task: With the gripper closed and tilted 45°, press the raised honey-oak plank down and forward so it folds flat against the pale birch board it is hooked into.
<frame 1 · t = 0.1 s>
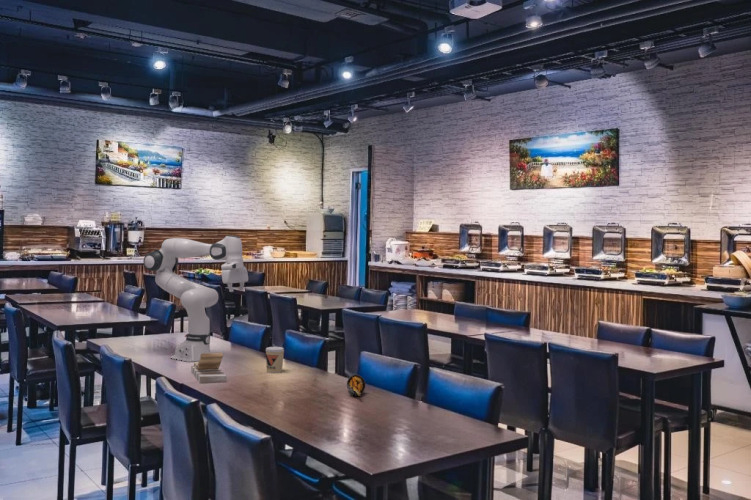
hand: (236, 291, 367), 39 cm above the table, tool pointing down, fingers open, 8 cm apart
coffee cup: (274, 372, 350), on the table
fried shrimp in bowl: (355, 396, 303), on the table
plank: (210, 361, 329), point 8 cm above the table, hinge at 38.0°
floor base: (207, 376, 334), on the table
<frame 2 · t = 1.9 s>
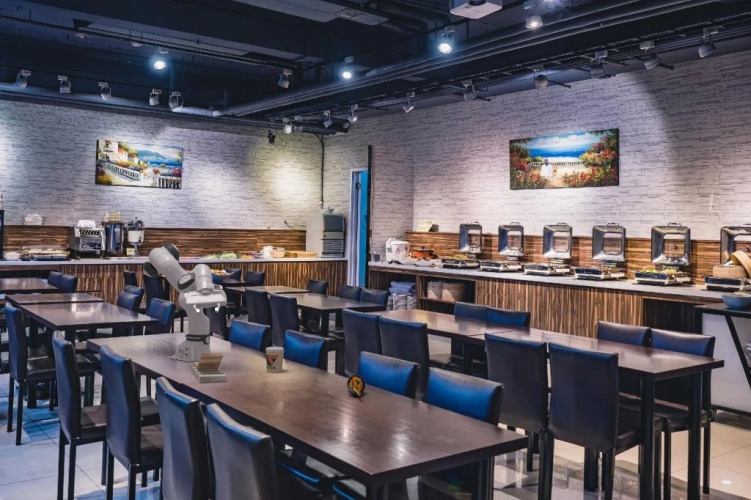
hand: (207, 312, 340), 30 cm above the table, tool tilted 45°, fingers open, 8 cm apart
nothing on the table moved.
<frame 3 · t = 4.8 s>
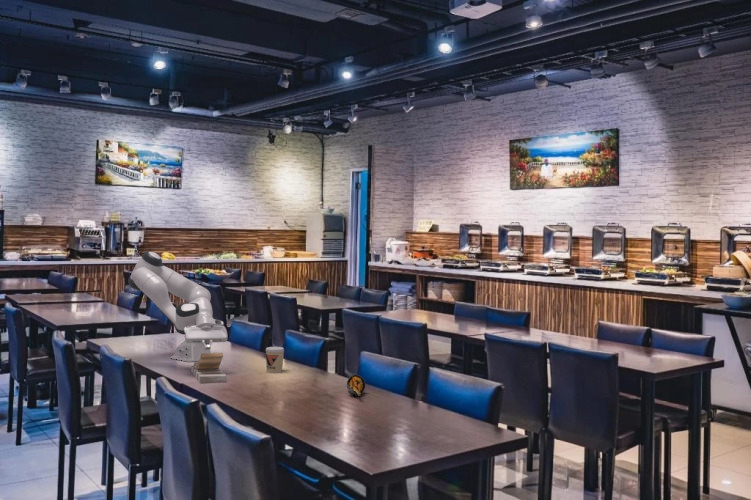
hand: (207, 348, 331), 14 cm above the table, tool tilted 45°, fingers closed
nothing on the table moved.
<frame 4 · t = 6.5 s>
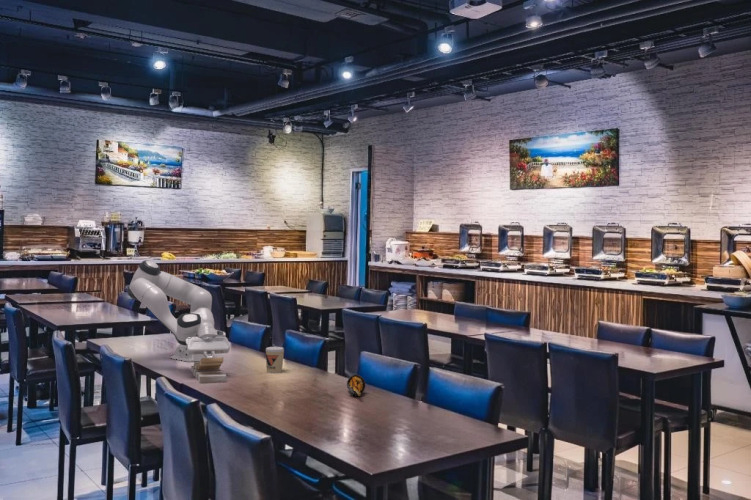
hand: (209, 360, 327), 9 cm above the table, tool tilted 45°, fingers closed, pressing on plank
plank: (210, 363, 328), point 7 cm above the table, hinge at 26.9°, touching gripper
everything else where it was.
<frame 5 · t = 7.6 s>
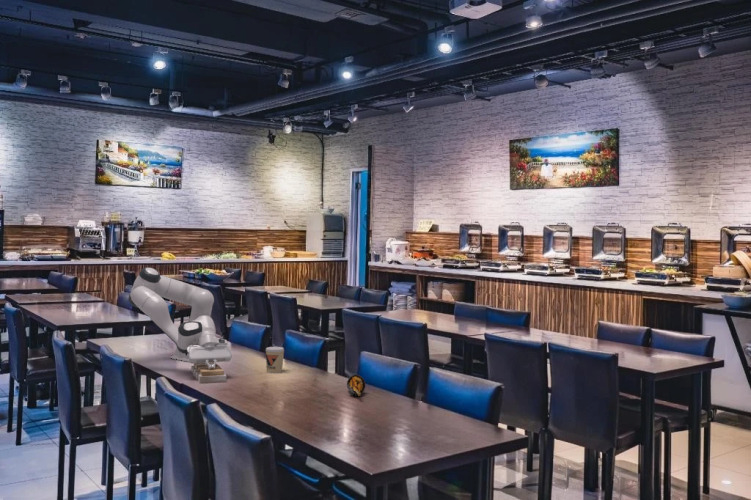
hand: (211, 368, 324), 6 cm above the table, tool tilted 45°, fingers closed, pressing on plank
plank: (210, 370, 327), point 4 cm above the table, hinge at -0.9°, touching floor base, gripper
everything else where it was.
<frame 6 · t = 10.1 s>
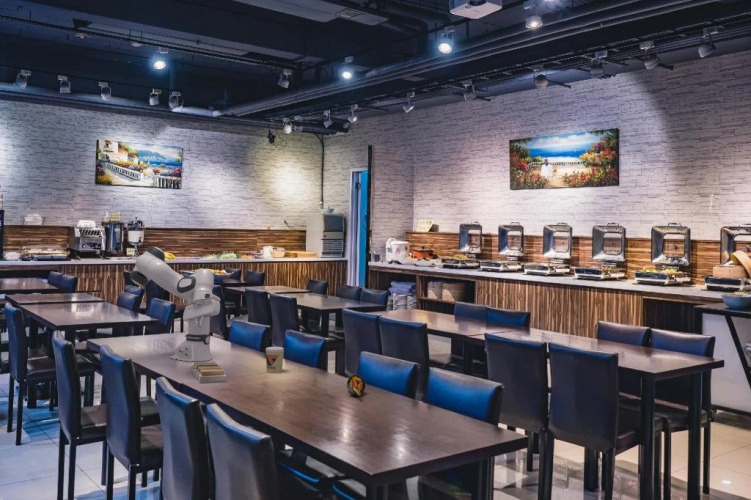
hand: (199, 326, 327), 25 cm above the table, tool tilted 30°, fingers closed
plank: (210, 370, 327), point 4 cm above the table, hinge at -0.8°
everything else where it was.
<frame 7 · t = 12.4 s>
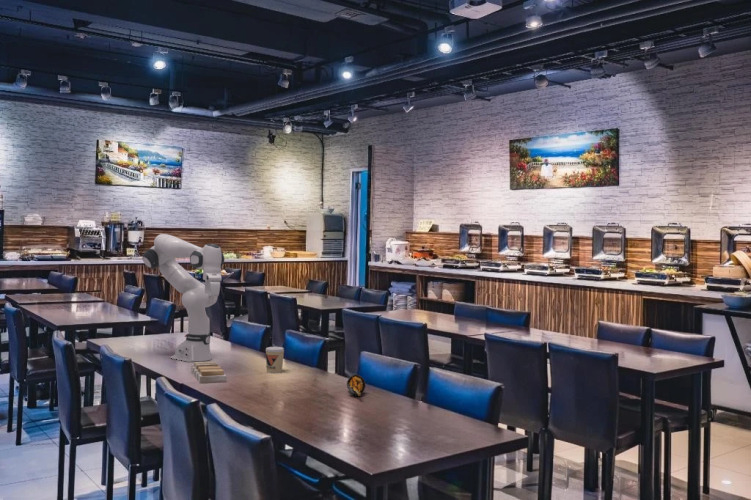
hand: (211, 303, 344), 34 cm above the table, tool pointing down, fingers closed
nothing on the table moved.
at the end: plank at -1° (first picture: +38°); the gripper is holding nothing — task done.
